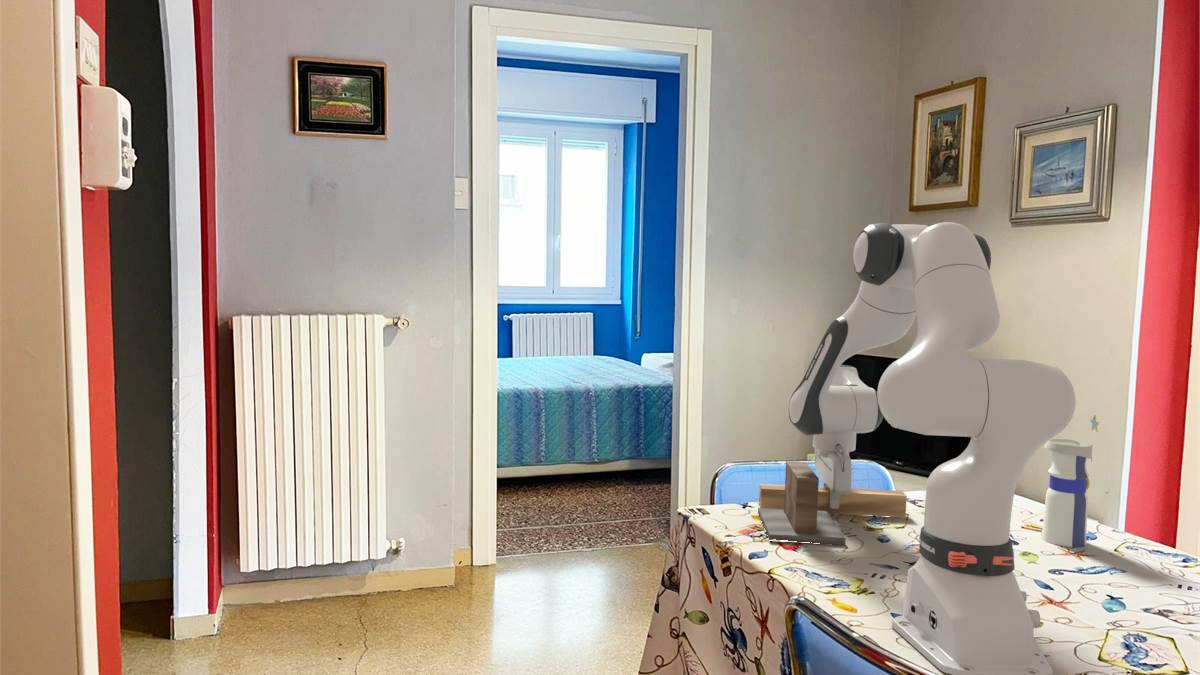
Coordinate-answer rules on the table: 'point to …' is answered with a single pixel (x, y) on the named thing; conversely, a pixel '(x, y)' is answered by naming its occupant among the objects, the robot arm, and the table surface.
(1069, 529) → the water bottle
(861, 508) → the oak rod
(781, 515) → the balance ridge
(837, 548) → the table surface
